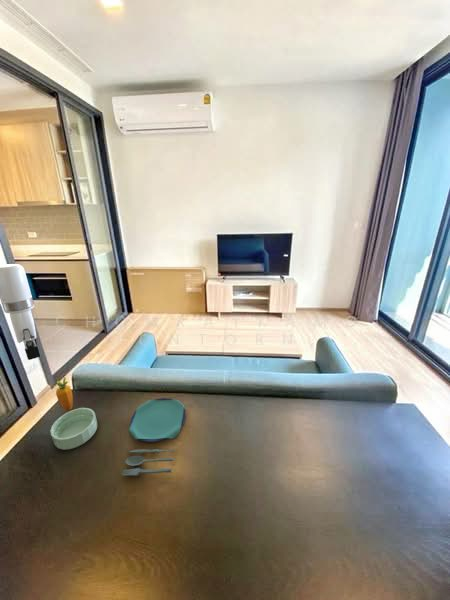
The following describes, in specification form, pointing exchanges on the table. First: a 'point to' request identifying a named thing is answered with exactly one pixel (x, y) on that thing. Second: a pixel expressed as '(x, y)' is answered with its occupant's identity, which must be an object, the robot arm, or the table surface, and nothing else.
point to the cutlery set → (155, 429)
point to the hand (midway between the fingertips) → (32, 351)
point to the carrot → (64, 395)
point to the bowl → (74, 428)
